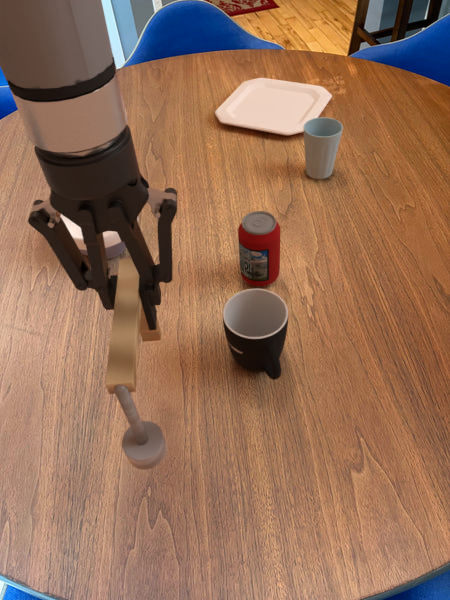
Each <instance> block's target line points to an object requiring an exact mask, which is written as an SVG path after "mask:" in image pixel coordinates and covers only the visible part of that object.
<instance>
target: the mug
mask: <svg viewBox="0 0 450 600" xmlns="http://www.w3.org/2000/svg"><path fill="white" fill-rule="evenodd" d="M222 325H223V331H224V335H225V339H226V343H227V346H228V349H229V351H230V354H231V356H232V358H233V360H234V362H235V363H236V364H237V365H238V366H239V367H240V368H242V369H243V370H245V371H247V372H251V373H262V372H264V373H265V374H266V375H267V376H268V378H269V379H271V380H278V379H279V378H280V377H281V376H282V365H281V361H280V357H281V356H282V353H283V350H284V347H285V343H286V339H287V333H288V326H289V309H288V305H287V304H286V302H285V300H284V299H283V298H282V297H281V296H280V295H278V294H277V293H276V292H274V291H272V290H271V291H270V290H268V289H264V288H248V289H244V290H241V291H238V292H236V293H234V294H233V295H232V296H230V298H228V299H227V301H226V302H225V304H224V306H223V309H222Z"/></svg>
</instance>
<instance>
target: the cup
mask: <svg viewBox="0 0 450 600" xmlns="http://www.w3.org/2000/svg"><path fill="white" fill-rule="evenodd" d="M343 130H344V126H343V124H342V122H341V121H339V120H338V119H336V118H332V117H325V116H321V117H320V116H319V117H318V118H314V119H311V120H309V121H307V122H306V123H305V124H304V132H303V143H304V144H303V145H304V159H305V161H304V162H305V163H304V164H305V173H306V175H307V176H308V177H309V178H311V179H315V180H324V179H327V178H329V177H330V176H331V175H333V171H334V168H335V167H334V166H335V162H336V158H337V155H338V150H339V146H340V143H341V138H342V134H343Z"/></svg>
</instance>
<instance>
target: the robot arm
mask: <svg viewBox="0 0 450 600" xmlns="http://www.w3.org/2000/svg"><path fill="white" fill-rule="evenodd" d="M103 5H104V4H103V1H102V0H0V69H1V72H2V73H3V76H4V79H5V80H6V83H7V86H8V88H9V90H10V92H11V95H12V98H13V100H14V103H15V105H16V108H17V110H18V114H19V116H20V118H21V121H22V124H23V126H24V129H25V131H26V134H27V137H28V139H29V141H30V143H32V145H33V146H34V152H35V156H36V158H37V161H38V163H39V166H40V169H41V170H42V173H43V176H44V178H45V181H46V183H47V186H48V187H49V188H50V194H49V197H48V198H47V199H45V200H43V199H35V200H34V201H33V203H32V207H31V210H30V212H29V216H28V218H27V224H28V225H30V226H31V227H32V228H33V229H34V230H36V231H37V233H39V234H40V235H41V236H43V238H44V239H45V240H46V242H47V244H48V245H49V247H50V249H51V250H52V251H53V254H54V255H55V256H56V258H57V260H58V261H59V264H60V265H61V266H62V268H63V269H64V271H65V273H66V275H67V276H68V278H69V279H70V281H71V282H72V284H73V286H74V287H75V289H76V290H78V291H81V292H83V291H87V290H88V289H92V290H94V291H95V292H96V293H97V294H98V297H99V299H100V301H101V305H102V307H103V308H104V310H106V311H114V304H115V295H116V287H117V279H118V274H112V275H110V268H111V267H109V263H108V259H107V256H106V250H105V244H104V238H103V232H106V231H114V232H117V233H118V235H119V237H120V239H121V241H122V242H124V243H125V246H126V250H127V252H128V255H129V256H130V258H131V259H132V261H133V263H134V265H135V267H136V269H137V272H138V274H139V287H138V293H139V296H140V299H141V303H142V307H143V310H144V313H145V317H146V320H147V324H148V327H149V331H150V330H156V319H158V311H157V307H156V306H161V303H162V289H161V286H160V284H161V283H164V284H169V283H171V282H172V281H173V268H174V267H173V265H174V263H173V260H174V259H173V232H172V231H173V230H172V229H173V228H172V224H173V222H174V220H175V217H176V215H177V213H178V191H177V189H175V188H173V187H166V188H165V189H164V190H159V189H156V188H153V187H150V184H149V182H148V180H147V179H146V178H145V177H144V176H143V174H142V173H141V170H140V166H139V162H138V158H137V153H136V148H135V144H134V140H133V135H132V131H131V128H130V126H129V125H128V119H129V118H128V117H129V116H128V113H127V107H126V105H125V99H124V95H123V91H122V87H121V81H120V78H119V74H118V69H117V65H116V61H115V57H114V53H113V50H112V44H111V41H110V35H109V30H108V25H107V20H106V15H105V11H104V6H103ZM146 204H148V205H150V207H151V208H150V209H151V213H152V214H153V215H154V217H155V218H156V219H157V229H156V230H157V245H158V262H159V263H157V264H156V263H155V261H154V258H153V256H152V254H151V251H150V249H149V247H148V243H147V242H146V239H145V237H144V234H143V232H142V228H140V227H141V226H140V224H139V220H138V221H137V217H138V218H139V215H140V214H141V212H142V211H143V209H144V207H145V206H146ZM60 213H61V214H62V215H63V216H65V217H66V218H68V219H69V220H70V221H72V222H73V223H75V224H76V225H78V226H79V227H80V228H81V232H82V236H83V241H84V244H86V249H87V253H88V256H87V258H88V261H86V259H85V257H84V254H82V253H81V252H80V250H79V248H78V246H77V244H76V243H75V241H74V239H73V237H72V235H71V234H70V232H69V230H68V228H67V227H66V225H65V223H64V221H63V220H62V218H61V217H60V216H61V214H60ZM88 263H89V264H88Z"/></svg>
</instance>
